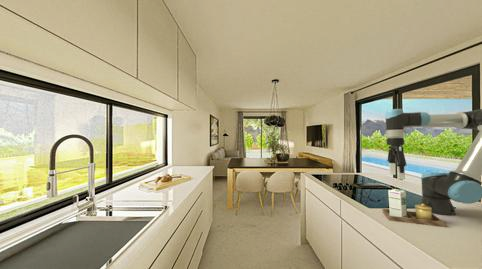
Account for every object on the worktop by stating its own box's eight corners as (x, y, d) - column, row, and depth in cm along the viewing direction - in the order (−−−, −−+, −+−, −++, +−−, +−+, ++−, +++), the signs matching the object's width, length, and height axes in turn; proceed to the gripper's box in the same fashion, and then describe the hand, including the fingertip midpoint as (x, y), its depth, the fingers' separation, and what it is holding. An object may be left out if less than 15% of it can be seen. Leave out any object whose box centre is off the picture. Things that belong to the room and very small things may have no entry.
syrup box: (402, 220, 100) (401, 192, 101) (389, 216, 105) (388, 189, 106) (407, 218, 103) (406, 190, 103) (394, 214, 108) (393, 188, 109)
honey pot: (428, 219, 102) (427, 202, 102) (435, 224, 96) (434, 206, 96) (413, 217, 104) (412, 201, 104) (418, 222, 98) (417, 205, 98)
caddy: (432, 219, 103) (431, 213, 103) (445, 228, 92) (444, 222, 92) (382, 213, 112) (382, 208, 112) (389, 221, 101) (388, 216, 101)
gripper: (380, 137, 118) (381, 172, 118) (394, 137, 95) (396, 180, 95) (395, 137, 116) (397, 173, 115) (413, 137, 93) (415, 181, 92)
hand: (396, 176), depth 105 cm, fingers open, 13 cm apart
